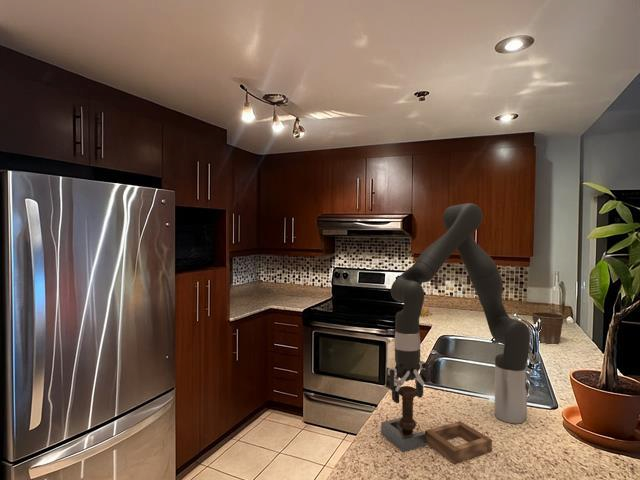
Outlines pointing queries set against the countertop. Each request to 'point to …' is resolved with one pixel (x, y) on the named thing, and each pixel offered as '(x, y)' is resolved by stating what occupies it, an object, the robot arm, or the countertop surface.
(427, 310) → the pastel sphere sculpture
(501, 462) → the countertop surface
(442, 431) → the square frame block
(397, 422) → the block
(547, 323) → the plant pot
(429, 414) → the countertop surface
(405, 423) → the bolt
